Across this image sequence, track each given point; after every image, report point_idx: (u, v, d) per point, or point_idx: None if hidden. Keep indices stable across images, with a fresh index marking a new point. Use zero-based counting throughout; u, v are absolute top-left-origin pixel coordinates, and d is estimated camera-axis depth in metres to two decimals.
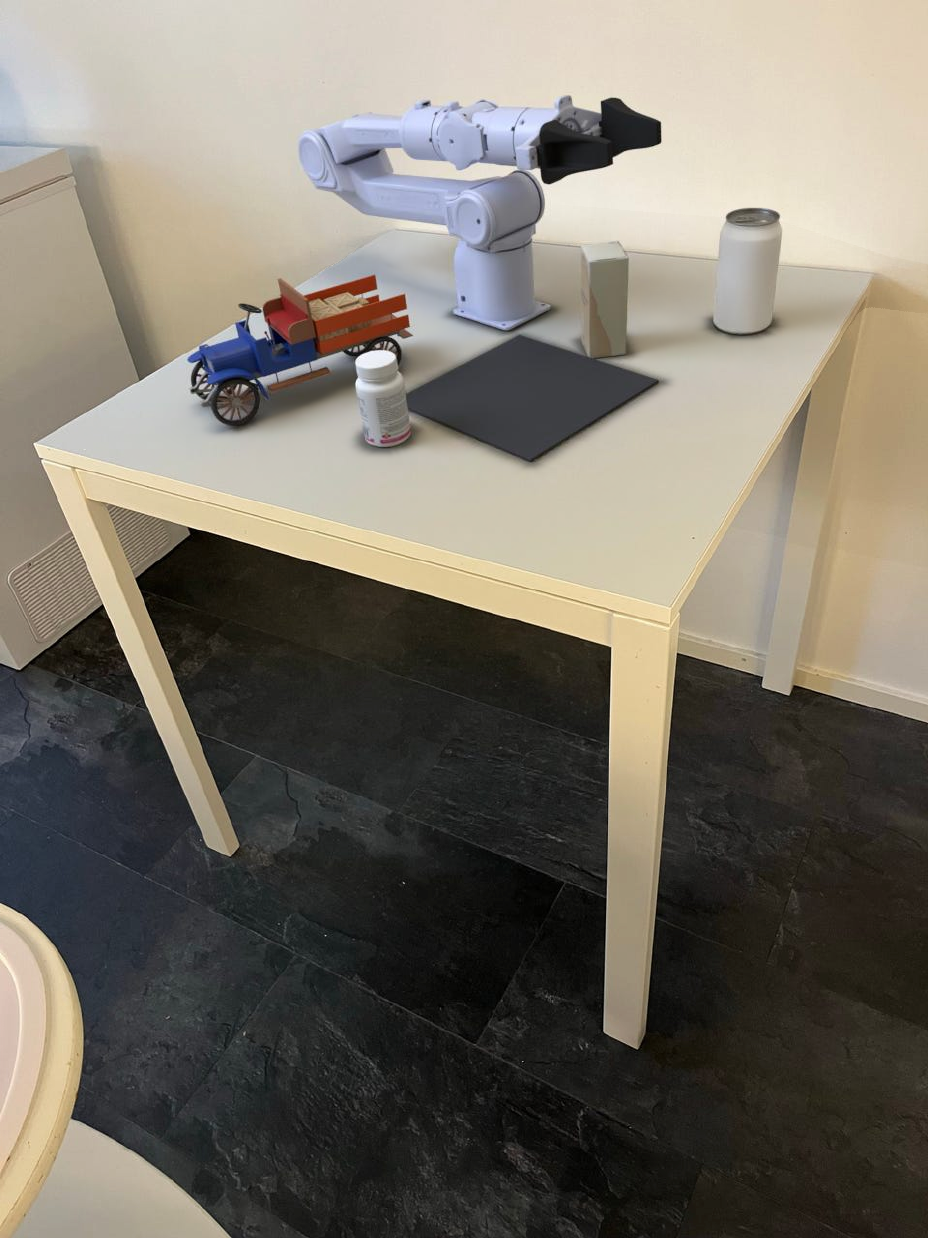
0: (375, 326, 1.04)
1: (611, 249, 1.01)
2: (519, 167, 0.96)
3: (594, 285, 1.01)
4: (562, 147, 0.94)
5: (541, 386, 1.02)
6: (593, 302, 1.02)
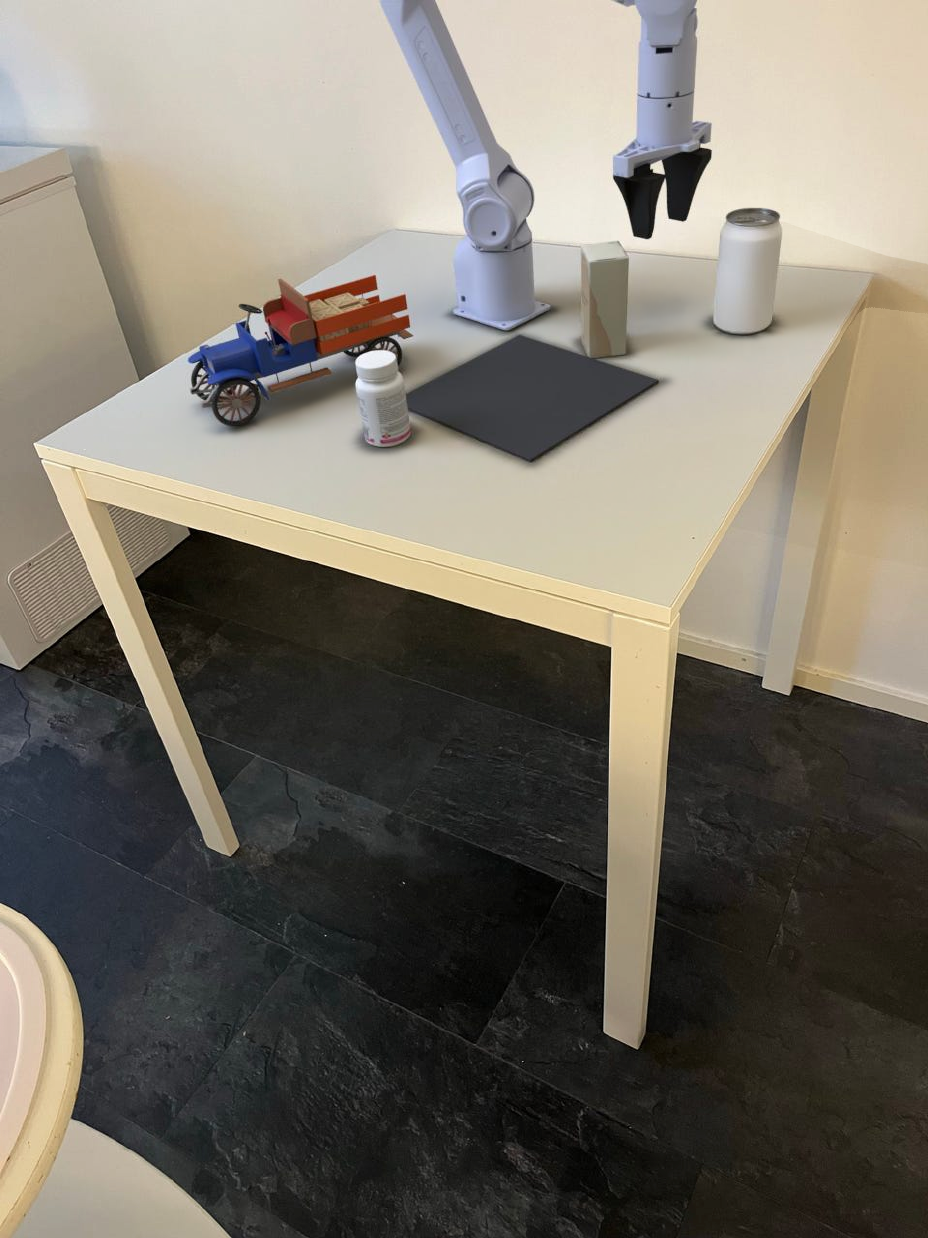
0: (375, 326, 1.04)
1: (611, 249, 1.01)
2: (613, 159, 0.98)
3: (594, 285, 1.01)
4: None
5: (541, 386, 1.02)
6: (593, 302, 1.02)
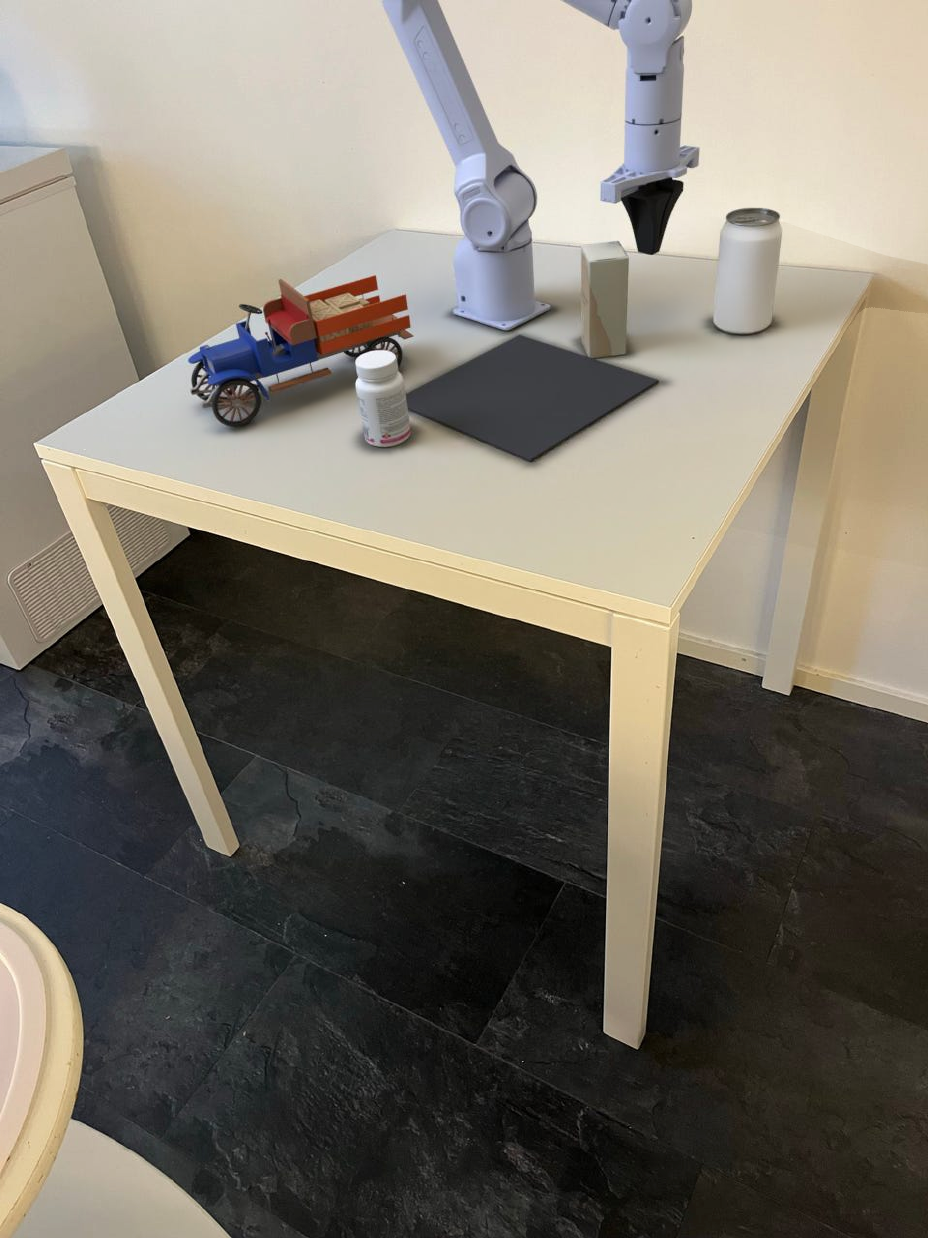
0: (376, 327, 1.04)
1: (611, 249, 1.01)
2: (601, 185, 0.98)
3: (594, 285, 1.01)
4: None
5: (541, 386, 1.02)
6: (593, 302, 1.02)
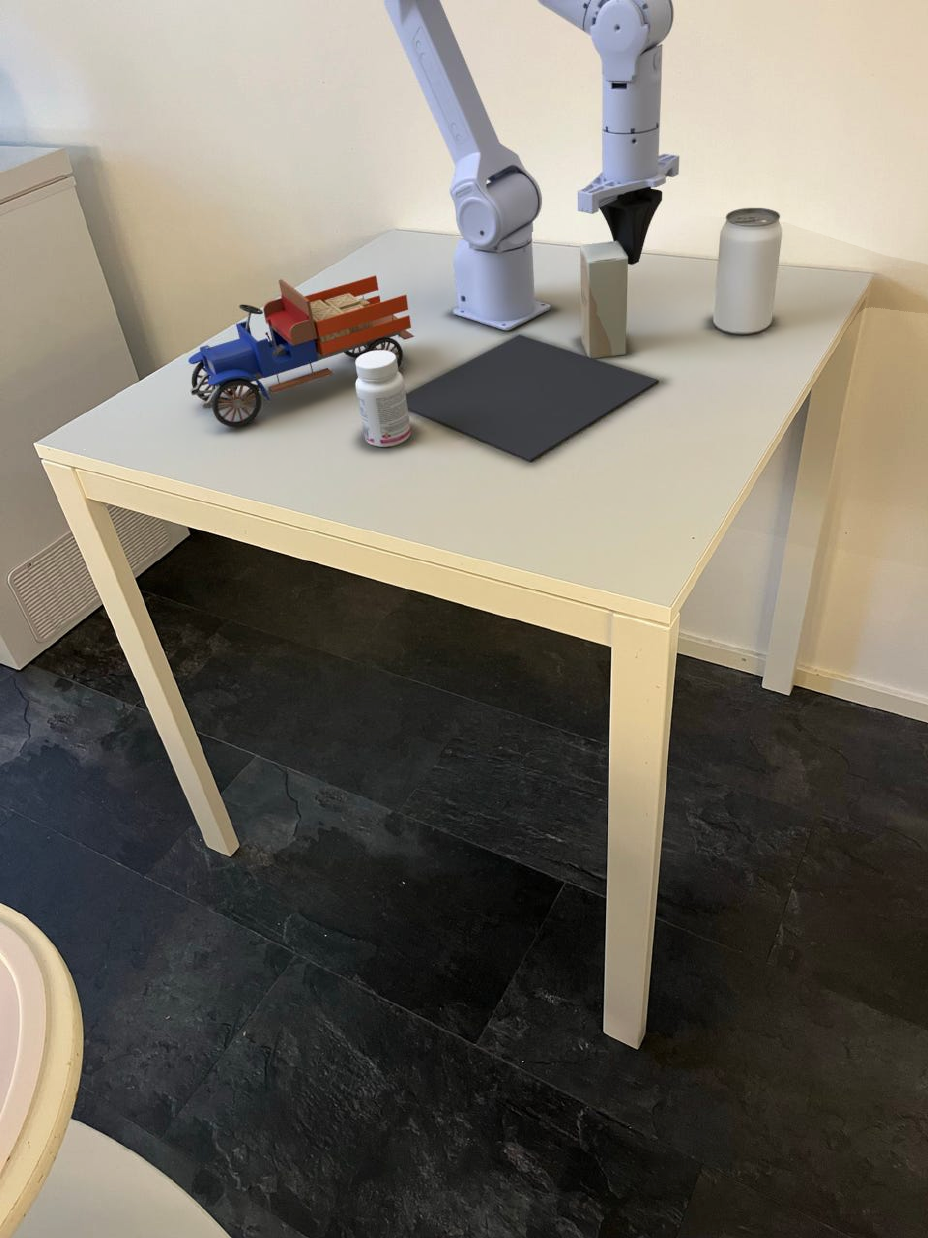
0: (376, 327, 1.04)
1: (610, 249, 1.01)
2: (578, 195, 0.96)
3: (594, 286, 1.01)
4: None
5: (541, 386, 1.02)
6: (593, 303, 1.02)
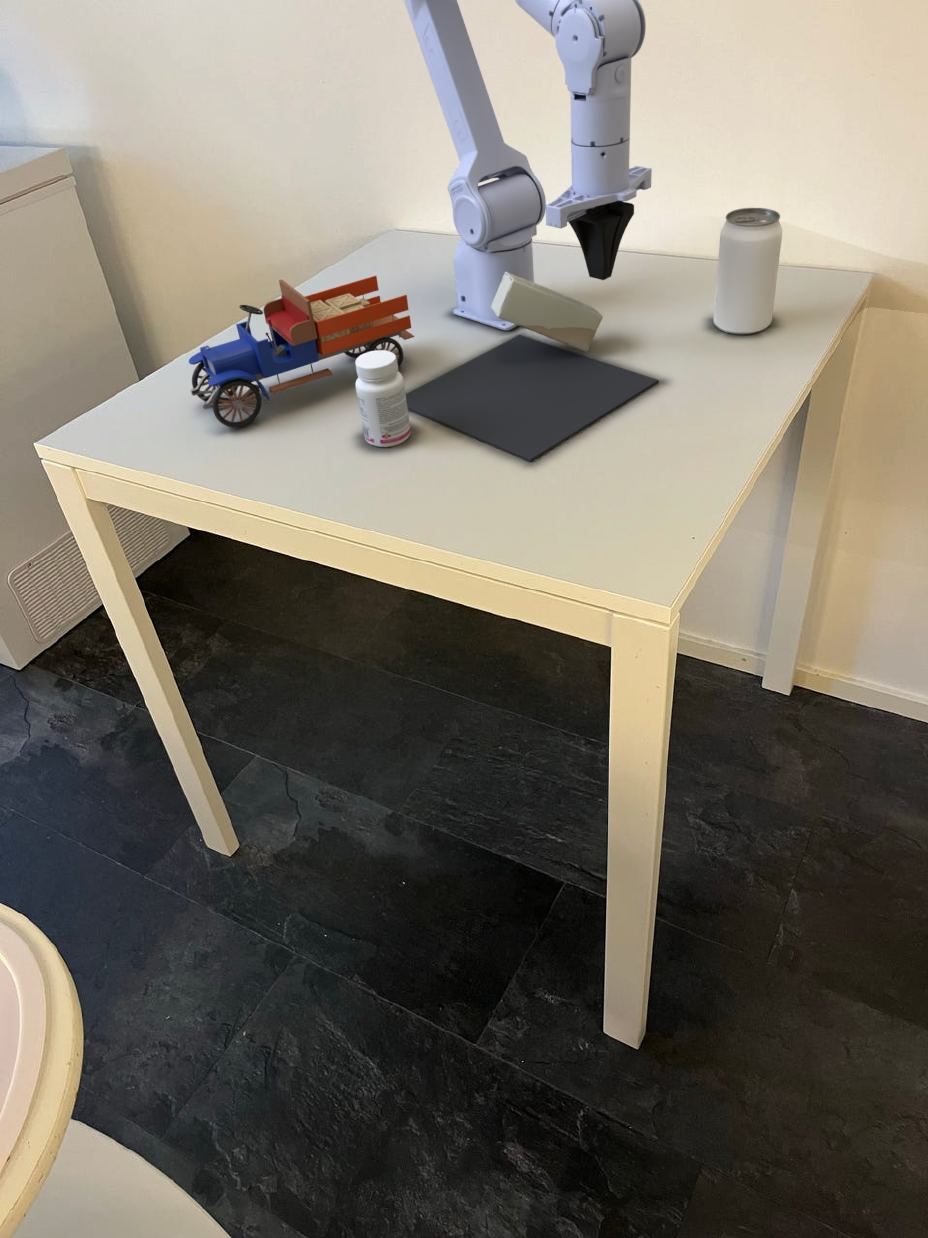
0: (377, 327, 1.03)
1: (503, 287, 1.04)
2: (546, 209, 0.94)
3: (522, 321, 1.04)
4: None
5: (541, 386, 1.02)
6: (536, 327, 1.04)
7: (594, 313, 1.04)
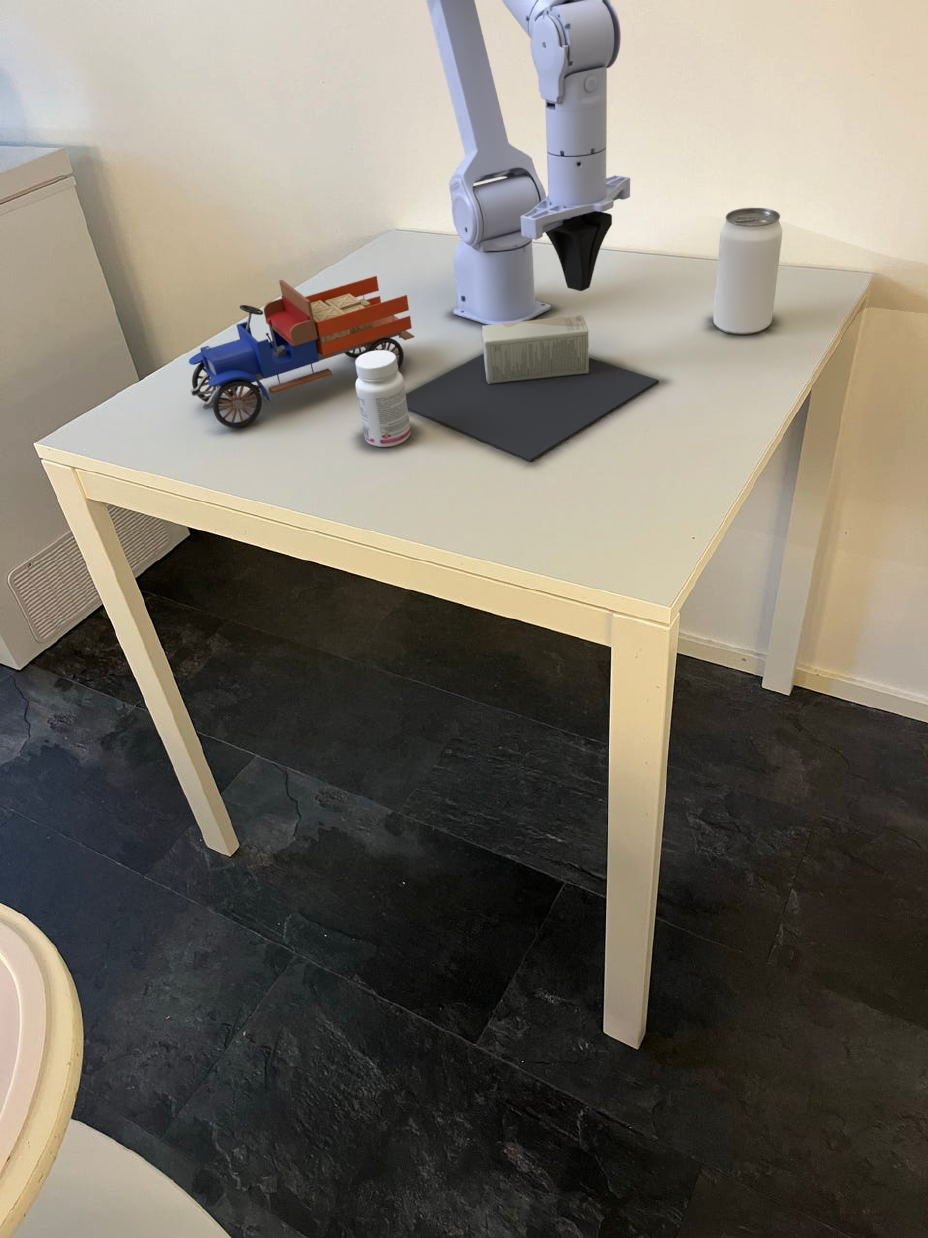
0: (377, 327, 1.03)
1: (484, 359, 1.03)
2: (521, 220, 0.92)
3: None
4: None
5: (541, 386, 1.02)
6: None
7: (579, 373, 1.03)
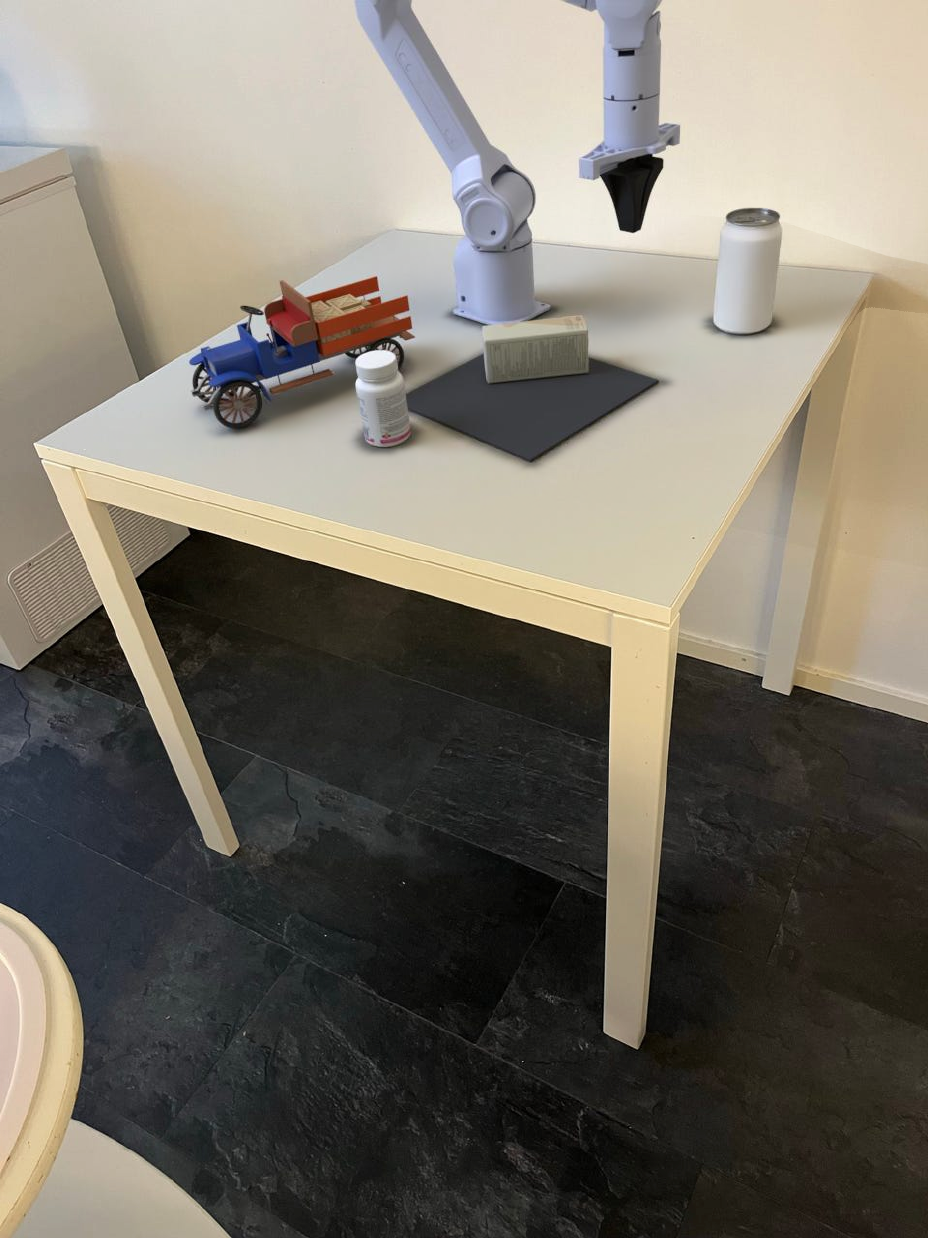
0: (377, 328, 1.03)
1: (484, 358, 1.03)
2: (579, 162, 0.98)
3: None
4: None
5: (541, 386, 1.02)
6: None
7: (579, 373, 1.03)
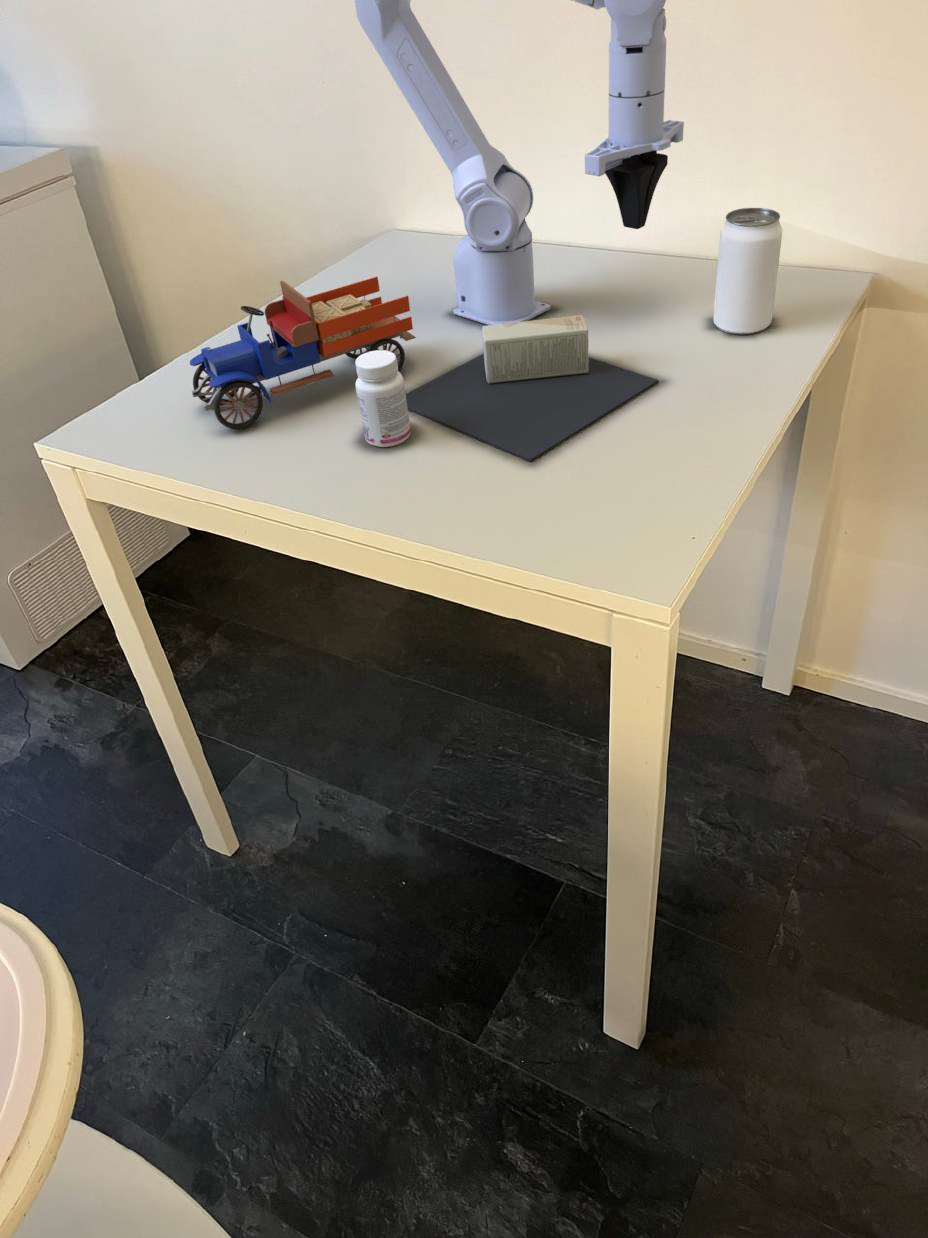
0: (378, 328, 1.03)
1: (484, 358, 1.03)
2: (585, 158, 0.99)
3: None
4: None
5: (541, 386, 1.02)
6: None
7: (579, 373, 1.03)
